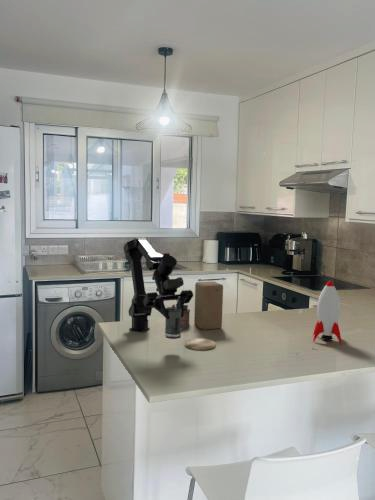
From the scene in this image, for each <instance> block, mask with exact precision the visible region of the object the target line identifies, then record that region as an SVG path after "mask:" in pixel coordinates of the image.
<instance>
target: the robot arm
mask: <svg viewBox="0 0 375 500" xmlns="http://www.w3.org/2000/svg"><path fill="white" fill-rule="evenodd" d="M123 251H124V254H125V258H126V259H127V261H128V262H130V264H129V265H130V271H131V278H132V286H133V293H134V294H133V297H132V299H131V304H130V307H129V309H128V310H127V311H128V316H129V317H131V327H129V329H128V330H129V331H135V332H139V333H142V332H144V331H147V330H150V328H151V327H149V320H148V317H150V316H151V315H152V310H153V309H155V310H156V311H158V312H159V313H160V314H161V315H162V316H163V317H164V318H165V320H166V319H168V313H167V311H166V308H167V307H166V306H165V302H167V301H176V304H175V307H179V308H181V309H182V312H181V317H183V316H184V305H187V304H189V303H190V302H191V300H192V299H193V297H194V292H193V290H191V289H182V290H181V292H180V293H178V294H176V293H177V292H178V289H179V288H181V287H183V286H184V283H185V282H184V279H183V278H182V277H183V276H181V277H177V278H170V275H172V273H173V271H174V269H175V267H176V265H177V263H178V261H177V259H176V258H175V257H174V256H173V255H170V253H169V252H166V253H165V252H163V254H162V253H160V252H157V251H156V250H155V249H154V248H153V247H152V245H151V244H150V243H149V242H148V239H147V238H146V237H136V238H133V239H132V240H128V241H127V242H126V243H125V244H124V245H123ZM143 257H144V258H145V266H146V268H147V270H149V271H154V272H153V273H152V278H151V280H152V281H154V282H155V286H156V289H155V290H156V292H152V291H151V292H146V288H145V283H144V282H145V281H144V275H143V273H144V272H143V265H142V259H143Z"/></svg>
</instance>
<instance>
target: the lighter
mask: <svg viewBox="0 0 375 500" xmlns="http://www.w3.org/2000/svg"><path fill="white" fill-rule="evenodd" d="M190 312H191V309H190V308H189V304H184V316H183V317H181V329H185V328H188V327H190Z"/></svg>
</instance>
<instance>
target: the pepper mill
mask: <svg viewBox="0 0 375 500" xmlns="http://www.w3.org/2000/svg"><path fill="white" fill-rule="evenodd" d="M165 308H166V311H167V313H168V319H166V318H165V323H164V324H165V329H164V330H165V331H164V336H165V338H166V339H168V340H169V339H170V340H176V339H181V338H182V337H181V336H182V328H181V312H182V309H181V308H179V307H176V304H172V305H171V306H166V307H165Z"/></svg>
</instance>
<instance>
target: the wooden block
mask: <svg viewBox="0 0 375 500" xmlns="http://www.w3.org/2000/svg"><path fill="white" fill-rule="evenodd" d="M194 287H195V288H194V289H195V290H194V317H193V319H194V323H193V324H194V326H196V327H198V328H200V330H204V331H206V330H207V331H208V330H217V329H221V328H222V327H223V307H224V306H223V302H224V301H223V300H224V285H223V284H222V283H221V284H220V283H218V282H216V281H198V282H197V281H196V282H195V285H194Z"/></svg>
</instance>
